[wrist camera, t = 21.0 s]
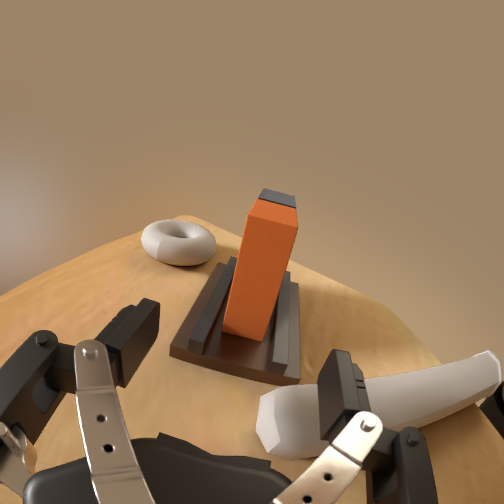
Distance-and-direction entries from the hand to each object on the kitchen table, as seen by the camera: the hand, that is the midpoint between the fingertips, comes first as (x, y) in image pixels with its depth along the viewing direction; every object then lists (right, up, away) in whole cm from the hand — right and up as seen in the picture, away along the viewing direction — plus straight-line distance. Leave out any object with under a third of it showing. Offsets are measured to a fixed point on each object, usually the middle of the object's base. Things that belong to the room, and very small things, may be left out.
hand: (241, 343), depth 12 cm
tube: (+12, -10, +6) cm, 16 cm away
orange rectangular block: (0, -2, +13) cm, 13 cm away
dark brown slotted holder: (0, -2, +15) cm, 15 cm away
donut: (-9, +4, +25) cm, 27 cm away
